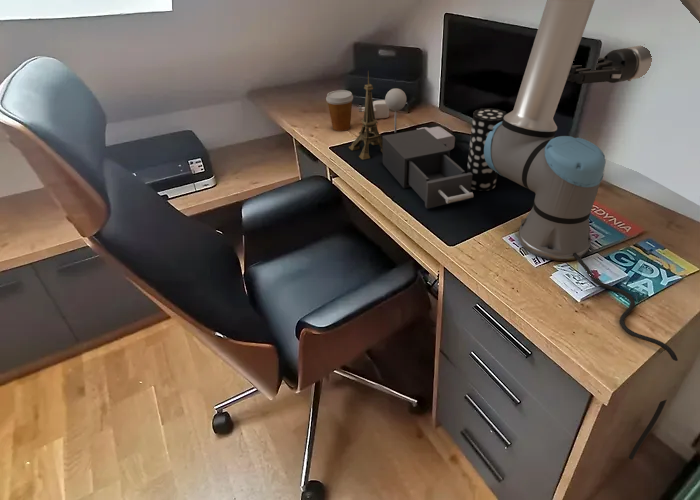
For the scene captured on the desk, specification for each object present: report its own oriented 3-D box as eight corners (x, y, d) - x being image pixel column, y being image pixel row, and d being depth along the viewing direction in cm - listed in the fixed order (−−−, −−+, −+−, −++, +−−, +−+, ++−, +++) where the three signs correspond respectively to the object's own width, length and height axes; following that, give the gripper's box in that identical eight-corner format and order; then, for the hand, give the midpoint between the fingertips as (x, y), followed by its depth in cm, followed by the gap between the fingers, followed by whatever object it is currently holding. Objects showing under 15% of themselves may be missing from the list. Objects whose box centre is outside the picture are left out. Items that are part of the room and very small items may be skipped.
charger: (431, 132, 159) (454, 149, 148) (407, 137, 157) (428, 155, 145) (432, 119, 156) (455, 135, 145) (407, 124, 154) (429, 140, 142)
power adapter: (359, 121, 170) (358, 105, 167) (358, 116, 174) (357, 100, 171) (389, 118, 171) (389, 103, 167) (387, 114, 175) (387, 98, 171)
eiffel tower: (362, 160, 145) (359, 78, 130) (348, 147, 152) (344, 69, 137) (392, 152, 148) (392, 72, 133) (377, 140, 156) (376, 63, 141)
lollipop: (409, 130, 161) (410, 87, 152) (399, 137, 157) (400, 93, 148) (391, 126, 165) (391, 84, 156) (381, 134, 160) (381, 90, 151)
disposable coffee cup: (338, 120, 172) (336, 88, 164) (359, 125, 167) (358, 92, 160) (322, 129, 166) (320, 96, 158) (344, 134, 161) (342, 100, 154)
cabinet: (447, 179, 132) (450, 149, 127) (403, 188, 129) (404, 158, 124) (422, 155, 145) (424, 128, 139) (382, 163, 142) (382, 135, 136)
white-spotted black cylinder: (459, 184, 129) (467, 115, 117) (475, 173, 134) (483, 106, 122) (486, 194, 125) (496, 123, 113) (501, 182, 129) (513, 112, 117)
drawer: (481, 209, 117) (484, 184, 113) (436, 219, 114) (438, 194, 110) (442, 173, 133) (444, 150, 129) (402, 181, 131) (403, 158, 126)
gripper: (642, 88, 109) (557, 103, 104) (601, 73, 119) (522, 86, 114) (653, 54, 105) (565, 69, 99) (609, 42, 115) (527, 54, 110)
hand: (542, 78), depth 107 cm, fingers closed
